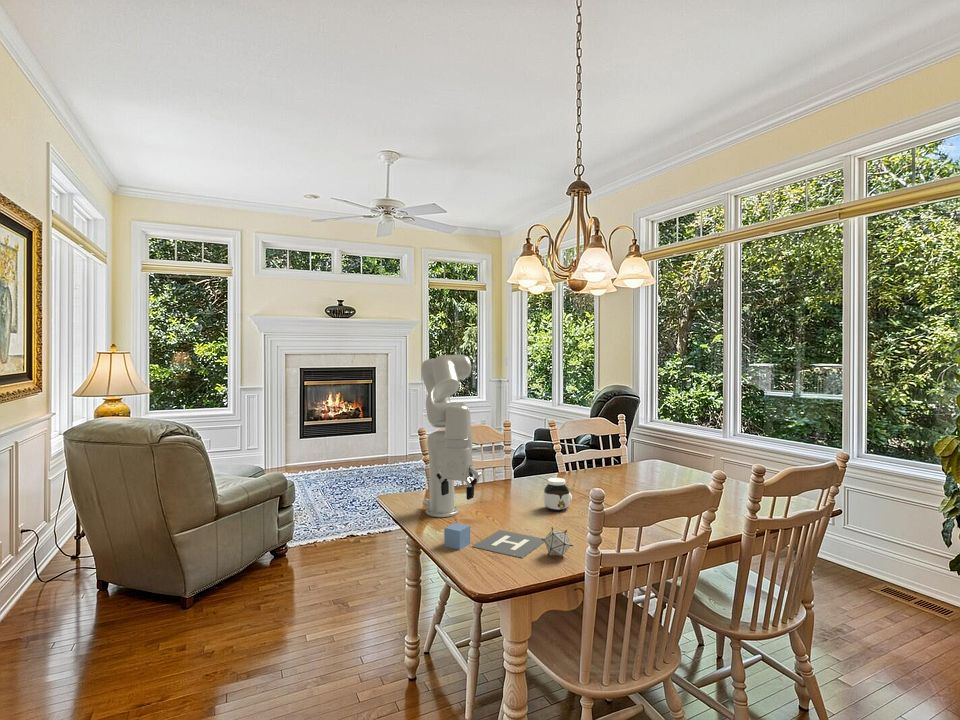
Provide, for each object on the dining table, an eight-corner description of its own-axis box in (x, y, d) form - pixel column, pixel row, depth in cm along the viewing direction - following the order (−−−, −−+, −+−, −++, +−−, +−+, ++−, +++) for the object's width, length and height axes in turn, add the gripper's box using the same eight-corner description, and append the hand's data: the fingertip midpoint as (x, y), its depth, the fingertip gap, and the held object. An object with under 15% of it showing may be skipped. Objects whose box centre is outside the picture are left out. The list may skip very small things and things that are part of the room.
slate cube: (444, 546, 170) (444, 527, 170) (455, 540, 175) (454, 522, 175) (459, 550, 167) (459, 531, 167) (470, 544, 172) (470, 525, 172)
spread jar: (545, 512, 205) (545, 482, 205) (541, 503, 216) (541, 475, 216) (576, 512, 205) (576, 482, 205) (570, 503, 216) (570, 475, 216)
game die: (542, 556, 165) (532, 536, 160) (559, 536, 169) (550, 516, 164) (564, 569, 159) (554, 549, 154) (581, 548, 162) (572, 528, 157)
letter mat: (472, 546, 169) (472, 545, 169) (499, 530, 184) (499, 529, 184) (522, 558, 160) (522, 557, 160) (547, 539, 175) (547, 539, 175)
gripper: (428, 443, 171) (428, 495, 172) (473, 447, 162) (473, 503, 163) (442, 439, 178) (442, 490, 178) (486, 444, 169) (486, 497, 169)
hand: (457, 496), depth 170 cm, fingers open, 9 cm apart
